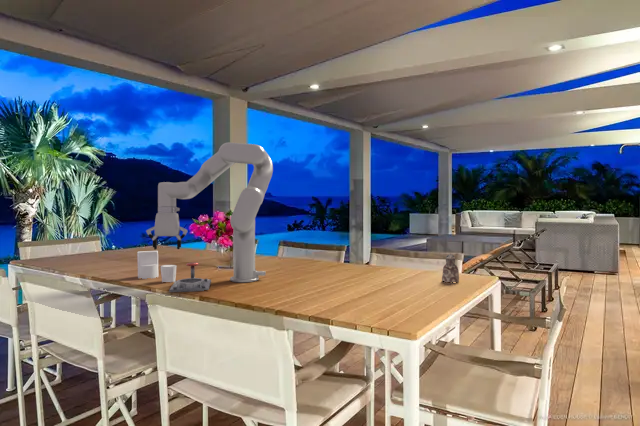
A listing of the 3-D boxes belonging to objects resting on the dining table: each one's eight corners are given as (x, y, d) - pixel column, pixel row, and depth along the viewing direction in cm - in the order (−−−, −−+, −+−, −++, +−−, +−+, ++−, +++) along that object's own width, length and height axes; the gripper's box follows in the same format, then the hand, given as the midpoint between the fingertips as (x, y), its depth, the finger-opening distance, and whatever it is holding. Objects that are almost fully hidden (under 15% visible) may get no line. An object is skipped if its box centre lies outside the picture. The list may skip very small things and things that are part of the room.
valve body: (211, 281, 196) (210, 261, 196) (208, 290, 178) (208, 268, 177) (175, 283, 194) (175, 262, 193) (169, 292, 175) (168, 270, 175)
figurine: (440, 282, 193) (440, 254, 192) (443, 279, 199) (444, 252, 198) (457, 283, 189) (457, 255, 189) (460, 281, 196) (460, 253, 195)
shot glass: (171, 283, 193) (171, 267, 193) (157, 282, 195) (157, 266, 195) (179, 280, 200) (179, 264, 200) (165, 279, 202) (165, 264, 201)
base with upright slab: (158, 274, 214) (158, 249, 213) (158, 278, 205) (157, 252, 205) (138, 276, 211) (138, 250, 211) (137, 279, 203) (136, 253, 202)
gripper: (188, 210, 201) (188, 247, 202) (148, 209, 198) (148, 248, 199) (186, 210, 194) (186, 250, 195) (144, 210, 191) (144, 250, 192)
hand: (167, 249), depth 197 cm, fingers open, 9 cm apart
